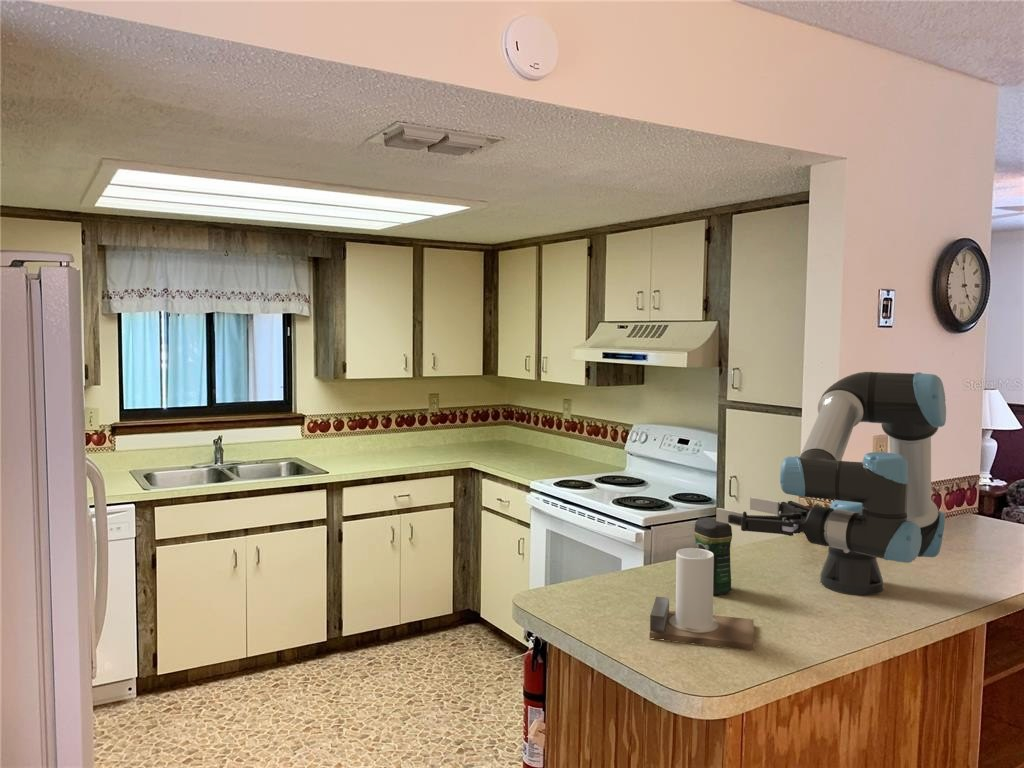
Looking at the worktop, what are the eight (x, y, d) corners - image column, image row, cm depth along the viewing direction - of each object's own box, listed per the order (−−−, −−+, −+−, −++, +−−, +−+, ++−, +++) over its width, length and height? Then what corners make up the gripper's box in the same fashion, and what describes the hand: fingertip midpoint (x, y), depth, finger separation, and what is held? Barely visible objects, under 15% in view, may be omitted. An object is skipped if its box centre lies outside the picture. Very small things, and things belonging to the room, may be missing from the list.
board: (753, 625, 177) (753, 604, 177) (753, 650, 164) (754, 627, 164) (656, 615, 184) (656, 595, 183) (649, 638, 170) (649, 616, 170)
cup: (671, 615, 179) (672, 548, 178) (706, 614, 180) (707, 547, 178) (681, 630, 171) (682, 559, 170) (717, 628, 171) (718, 558, 170)
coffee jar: (736, 593, 198) (738, 522, 197) (711, 597, 195) (712, 525, 194) (712, 581, 207) (713, 513, 206) (688, 585, 204) (689, 516, 203)
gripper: (801, 560, 142) (701, 537, 158) (858, 533, 159) (763, 515, 175) (802, 521, 142) (702, 501, 157) (859, 498, 159) (764, 482, 174)
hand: (734, 508), depth 166 cm, fingers open, 13 cm apart
